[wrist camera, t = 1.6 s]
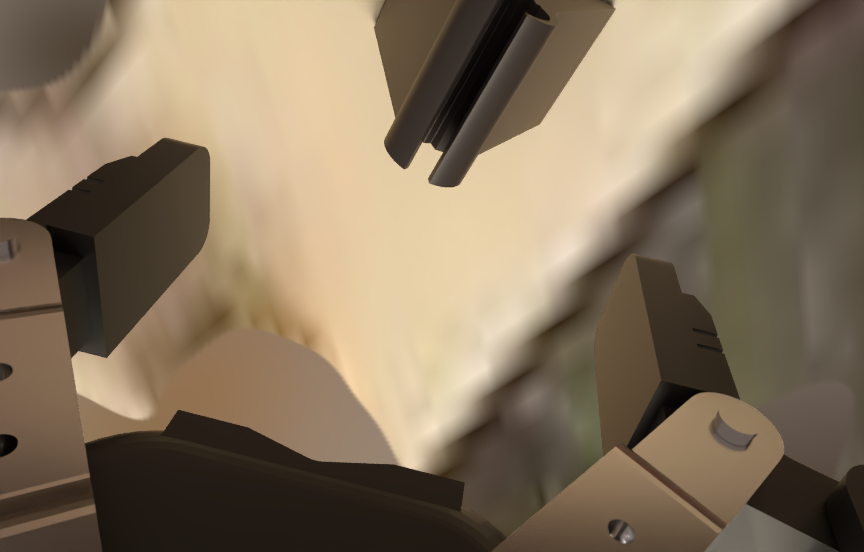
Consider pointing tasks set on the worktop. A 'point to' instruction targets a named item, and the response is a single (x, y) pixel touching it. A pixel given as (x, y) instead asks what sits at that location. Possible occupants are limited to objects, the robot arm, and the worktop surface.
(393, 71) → the phone stand
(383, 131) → the worktop surface
